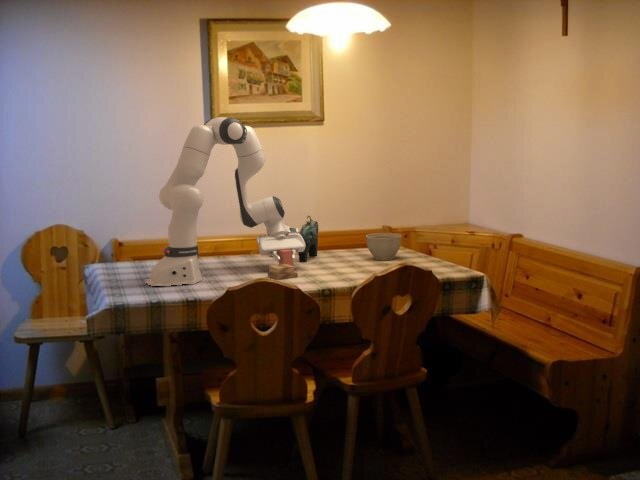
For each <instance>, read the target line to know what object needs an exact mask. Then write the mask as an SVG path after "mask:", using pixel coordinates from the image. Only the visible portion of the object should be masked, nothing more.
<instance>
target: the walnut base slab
mask: <svg viewBox="0 0 640 480" xmlns="http://www.w3.org/2000/svg"><path fill="white" fill-rule="evenodd" d="M298 275H299V274H298V272H296V271H294V273H288V274H280V275H277V274H274V273H271V272H269V271H267V277H268V278H272V279H273V278H274V280H277V281H280V280H281V281H282V280H289V279H296V278H298Z"/></svg>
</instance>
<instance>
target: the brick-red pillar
mask: <svg viewBox="0 0 640 480" xmlns="http://www.w3.org/2000/svg"><path fill="white" fill-rule="evenodd" d="M279 256H281V261H279V262H278V265H281V264H287V265H291V266H294V260H293V251H292V250H289V249H288V250H279Z"/></svg>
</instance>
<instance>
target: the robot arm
mask: <svg viewBox="0 0 640 480" xmlns="http://www.w3.org/2000/svg"><path fill="white" fill-rule="evenodd" d="M216 144H218V145H222V146H224V145H225V146H226V145H232V147H233V148H234V151H235V154H236V157H237V163H238V164H237V168H235V169H234V180H235V187H236V193H237V199H238V205H239V218H240V221H241V223H242V224H243V226H246V227H247V228H250V229H252V228H254V227H257V226H258V225H261V224H263V223H264V224H263V225H264V226H265V229H266V234H264V235H262V234H261V235H258V236H257V237H256V239H255V241H256V244H257V245H258V251H259V254H260V255H262V256H269V255H270V256H271V255H273V257H275V258H274V259H276V261H277V262H278V263H279V261H281V256H278V255H277V254H279V250H288V249H289V250H292V251H293V261H296V260H295V259H296V256H295V254H296V253H298V252H303V251H304V250H305V247H306V245H305V242H304V239H303V237H302V236H301V235H300V234H299V233H300V230H299V228H297V227H293V226H288V225H286V223H285V221H284V220H285V219H284V217H285V213H286V212H285V210H284V208H283V207H284V206H283V204H282V201H281V199H280V198H278V197H277V196H273V195H271V196H268V197H265V198H262V199H259V200H256V201H253V202H249V199H248V194H247V192H248V191H247V184H248V182H249V180H250V179H251V178H252V177H254V176H255V175H256V174H258V173H259V172H260V171H261V169H262V168H263V167H264V164H265V161H266V158H265V154H264V149H263V146H262V143H261V142H260V140H259V137H258V135H257V132H255V129H254V128H253V127H251V126H250V125H244V124H243V122H241V121H240V120H239V119H238V118H234V117H226V116H219V117H212V118H210V119H207V121H205V123H204V124H195V125H194V126H193V127H192V128H191V130H190V131H189V133H188V135H187V137H186V139H185V141H184V144H183V146H182V149H181V152H180V155H179V158H178V160H177V163H176V166H175V168H174V170H173V171H172V173H171V174H170V176H169V179H168V180H167V182H166V183H165V185H163V187H161V189H160V190H159V193H158V194H159V195H158V198H159V201H160V203H161V205H163V206H164V207H165V208H167V209H168V210H171V211H172V214H171V219H170V222H169V224H168V227H167V232H168V233H167V234H168V236H167V237H168V247H166V248H165V247H163V246H162V247H161V248H160V252H161V253H162V254H164V257H162V258H161V259H160V260H159V261H158V262H157V263H155V264H154V265H153V266H152V267H151V271H150V278H148V279H145V281H144V284H146V283H147V284H148V285H147V284H146V285H147V286H149V285H151V286H150V287H152V286H165V287H172V286H171V285H177V286H183V285H182V284H189V285H195V284H196V283H198V282H201V281H203V277H202V274H201V273H202V272H201V270H200V265H199V255H200V254H199V253H200V252H199V245H198V243H197V242H198V240H197V224H198V223H197V222H198V218H199V217H198V216H199V212H200V209H201V208H202V206H203V203H204V195H203V193H202V191H201V190H200V189H199V188H198V187H196V185H197V183H198V181H199V180H200V179H201V178H202V177H203V176H204V174H205V171H206V168H207V165H208V163H209V160H210V157H211V154H212V150H213V148H214V146H216ZM273 257H272V258H273Z"/></svg>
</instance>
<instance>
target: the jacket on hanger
mask: <svg viewBox="0 0 640 480" xmlns="http://www.w3.org/2000/svg"><path fill="white" fill-rule="evenodd" d="M311 217H312V216H310V215H307V216H306V219H307V220H308V219H309V220H308V221H307V220H306V221H305V223H304V224H303V225H302V226H301V228H300V230H299V234H300V235H301V236H302V237H303V239H304V242H305V245H306V247H305V250H304V251H303V252H297V254H298V261H299V263H307V262H308V257H309V258H317V257H318V244H319V242H318V241H319V239H318V238H319V235H318V234H319V224H318V221H317V220H313V219H312V218H311Z"/></svg>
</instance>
